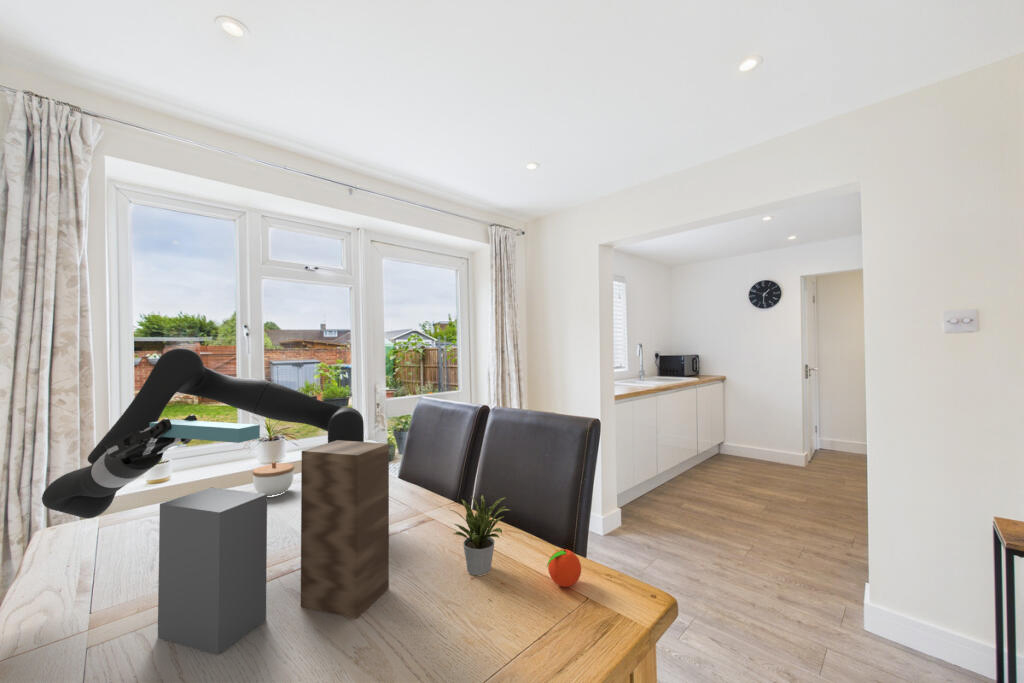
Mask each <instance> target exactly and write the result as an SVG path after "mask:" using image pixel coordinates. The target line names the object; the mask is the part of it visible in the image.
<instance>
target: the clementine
mask: <svg viewBox="0 0 1024 683" xmlns="http://www.w3.org/2000/svg"><path fill="white" fill-rule="evenodd" d="M546 565H547V566H546V568H547V570H548V573H549V576H550V578H551V579H552V581H553V582H554V583H555V584H556V585H558V586H560V587H562V588H563V587H564V588H568V587H572V586H574V585H575V584H576V583H577V582H578V581H579V579H580V577H581V576H582V565H581V561H580V559H579V557H578V556H577V555H576V554H575V553H574V552H573V551H572V550H569V549H567V548H566V549H563V548H562V549H559V550H556V551H554V553H553V554H551V556H550V558H549V559H548V562H547V564H546Z"/></svg>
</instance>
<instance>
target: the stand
mask: <svg viewBox="0 0 1024 683" xmlns="http://www.w3.org/2000/svg"><path fill="white" fill-rule="evenodd" d="M389 450H390V444H389V443H387V442H386V443H385V442H369V441H368V442H367V441H364V442H357V441H342V440H337V441H333V442H330V443H328V442H327V443H323V444H320V445H317V446H314V447H310V448H307V449H303V450H301V474H300V476H301V488H300V489H301V490H300V491H301V492H300V494H301V497H300V498H301V500H300V501H301V502H300V504H301V505H300V508H301V509H300V511H301V512H300V515H301V516H300V607H302V608H305V609H310V610H315V611H319V612H325V613H327V614H328V613H329V614H335V615H338V616H342V617H345V618H346V617H347V618H352V619H355V620H357V619H359V617H361V616H362V615H363V614H364V613H365V612H366V611H368V609H369V608H371V606H373V604H375V602H377V600H379V599H380V598H381V597H382V596H383V595H384V594H385V593H386V592H387V591H388V590H389V589H390V587H389V586H390V583H389V582H390V578H389V577H390V576H389V575H390V568H389V567H390V560H389V559H390V550H389V549H390V548H389V547H390V544H389V543H390V540H389V539H390V537H389V536H390V530H389V528H390V525H389V524H390V523H389V522H390V518H389V517H390V514H389V513H390V508H389V507H390V495H389V494H390V491H389V490H390V479H389V477H390V468H389V466H390V462H389V461H390V457H389V456H390V451H389Z"/></svg>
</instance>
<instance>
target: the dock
mask: <svg viewBox="0 0 1024 683" xmlns="http://www.w3.org/2000/svg"><path fill="white" fill-rule="evenodd" d="M267 525H268V498H267V494H262V493H258V492H253V491H252V492H251V491H245V490H244V491H243V490H235V489H228V488H220V487H219V488H218V487H208V488H205V489H201V490H198V491H195V492H193V493H190V494H185V495H184V496H181V497H177V498H173V499H171V500H169V501H168V500H167V501H164V502H161V503H159V528H158V530H159V532H158V533H159V534H158V536H159V537H158V538H159V539H158V540H159V541H158V542H159V543H158V591H157V592H158V596H157V598H158V599H157V601H158V602H157V639H160V640H163V641H167V642H171V643H174V644H176V645H180V646H183V647H187V646H188V647H187V648H191V647H192V649H196V650H198V649H199V650H198V651H202V652H205V653H209V654H212V655H217V656H219V655H220V654H221V653H223V652H224V651H226V650H227V649H229V648H230V647H231V646H233V645H234V644H235V643H236V642H238V641H240V640H241V639H242V638H243V637H246V636H247V634H249V633H250V632H252V631H254V630H255V629H256V628H257V627H258V626H260V625H261V624H262V623H264V622H265V621H266V620H267V569H268V568H267V566H268V565H267V560H268V559H267V558H268V557H267V554H268V553H267V551H268V550H267V549H268V546H267V544H268V537H267V536H268V526H267Z"/></svg>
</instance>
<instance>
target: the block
mask: <svg viewBox="0 0 1024 683" xmlns="http://www.w3.org/2000/svg"><path fill="white" fill-rule="evenodd" d="M160 421H161V420H160ZM160 421H159V420H158V422H151V423H150V427H153V426H154V425H156V424H157V423H159V422H160ZM170 422H171V426H172V428H171V430H169V431H168V432H167V433H165V434H164V435H162V436H161V437H172V438H185V439H192V440H199V441H208V442H209V441H210V442H212V441H213V442H223V443H233V444H235V443H236V444H239V443H245V442H249V441H254V440H257V439H260V438H261V435H260V432H261V431H260V430H261V429H260V428H261V425H260V424H256V423H254V424H252V423H238V422H224V421H223V422H221V421H220V422H219V421H205V420H197V421H191V420H184V419H174V418H173V419H170Z"/></svg>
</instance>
